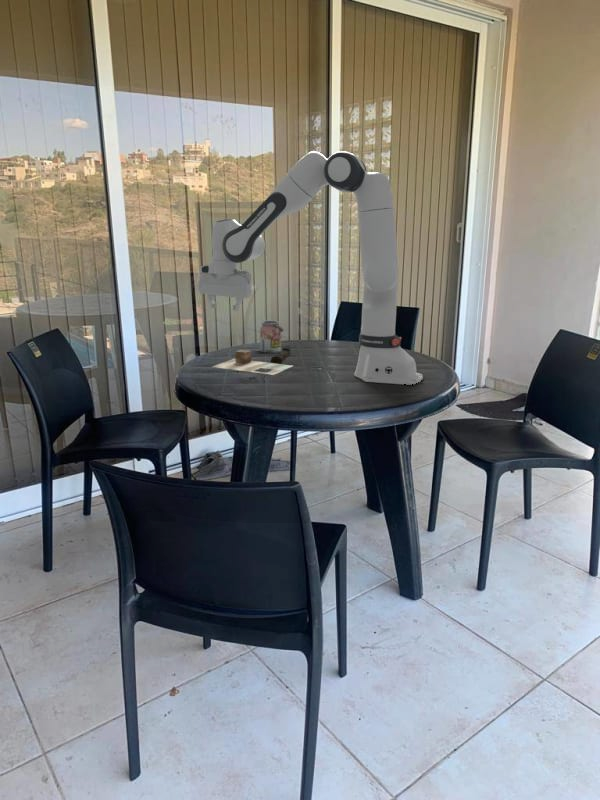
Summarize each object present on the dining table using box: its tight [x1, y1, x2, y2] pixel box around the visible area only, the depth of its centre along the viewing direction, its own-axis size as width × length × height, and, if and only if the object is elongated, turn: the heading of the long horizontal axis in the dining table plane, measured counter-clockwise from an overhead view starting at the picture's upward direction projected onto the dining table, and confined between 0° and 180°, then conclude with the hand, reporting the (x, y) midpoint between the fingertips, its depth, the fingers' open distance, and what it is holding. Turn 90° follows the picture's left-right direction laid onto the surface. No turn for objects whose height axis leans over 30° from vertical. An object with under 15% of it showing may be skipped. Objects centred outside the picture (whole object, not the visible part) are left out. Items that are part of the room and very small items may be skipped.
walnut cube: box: [234, 349, 252, 364], centre depth 203 cm, size 4×4×4 cm
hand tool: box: [270, 345, 291, 364], centre depth 213 cm, size 19×4×5 cm, turn 164°
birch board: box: [211, 358, 294, 380], centre depth 198 cm, size 24×15×2 cm, turn 65°
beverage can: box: [259, 320, 285, 354], centre depth 227 cm, size 9×8×12 cm
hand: (224, 309), depth 201 cm, fingers open, 8 cm apart
